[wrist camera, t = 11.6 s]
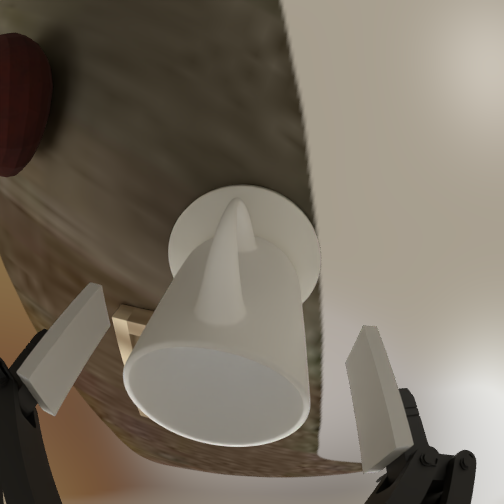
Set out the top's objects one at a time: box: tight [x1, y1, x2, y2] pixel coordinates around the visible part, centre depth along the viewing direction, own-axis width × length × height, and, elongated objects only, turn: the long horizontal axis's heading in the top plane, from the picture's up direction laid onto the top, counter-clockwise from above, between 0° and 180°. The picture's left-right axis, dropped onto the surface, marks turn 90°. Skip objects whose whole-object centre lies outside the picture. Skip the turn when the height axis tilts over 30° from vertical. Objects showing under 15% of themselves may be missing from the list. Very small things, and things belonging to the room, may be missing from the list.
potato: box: [0, 33, 53, 177], centre depth 12 cm, size 9×12×9 cm
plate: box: [168, 184, 321, 303], centre depth 20 cm, size 11×11×1 cm
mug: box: [123, 198, 310, 447], centre depth 15 cm, size 9×12×11 cm
